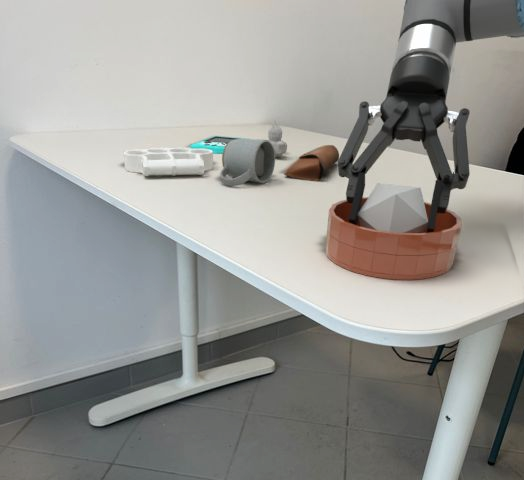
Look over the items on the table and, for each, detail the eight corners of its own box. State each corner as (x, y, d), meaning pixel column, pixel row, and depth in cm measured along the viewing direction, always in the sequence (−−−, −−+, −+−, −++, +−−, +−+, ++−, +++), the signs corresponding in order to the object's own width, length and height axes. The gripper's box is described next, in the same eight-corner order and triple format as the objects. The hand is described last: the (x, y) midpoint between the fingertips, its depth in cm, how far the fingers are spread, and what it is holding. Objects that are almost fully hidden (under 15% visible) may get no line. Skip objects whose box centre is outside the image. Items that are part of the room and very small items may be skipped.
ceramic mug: (240, 173, 109) (240, 132, 105) (275, 179, 105) (276, 137, 101) (209, 184, 101) (208, 141, 97) (246, 190, 97) (246, 146, 93)
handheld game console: (188, 150, 128) (188, 144, 127) (214, 140, 141) (214, 134, 141) (228, 154, 126) (228, 148, 125) (250, 143, 139) (250, 138, 138)
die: (392, 273, 65) (451, 206, 62) (335, 226, 66) (391, 158, 63) (393, 273, 73) (446, 213, 70) (343, 231, 74) (393, 170, 71)
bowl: (452, 243, 75) (460, 204, 72) (452, 288, 61) (463, 241, 59) (337, 230, 79) (341, 192, 76) (314, 268, 65) (317, 224, 63)
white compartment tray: (126, 179, 101) (124, 163, 113) (220, 177, 105) (208, 161, 118) (125, 161, 100) (122, 147, 112) (220, 159, 104) (208, 145, 116)
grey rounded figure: (278, 154, 127) (280, 117, 123) (292, 159, 122) (294, 121, 118) (258, 155, 125) (259, 118, 121) (271, 161, 120) (273, 122, 116)
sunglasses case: (301, 158, 121) (318, 132, 117) (326, 177, 122) (344, 151, 118) (282, 175, 106) (301, 145, 102) (310, 196, 107) (330, 168, 103)
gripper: (499, 100, 71) (476, 254, 66) (340, 90, 76) (307, 233, 71) (514, 56, 64) (489, 225, 59) (338, 48, 69) (301, 203, 64)
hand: (390, 229), depth 65 cm, fingers closed on die, 8 cm apart
